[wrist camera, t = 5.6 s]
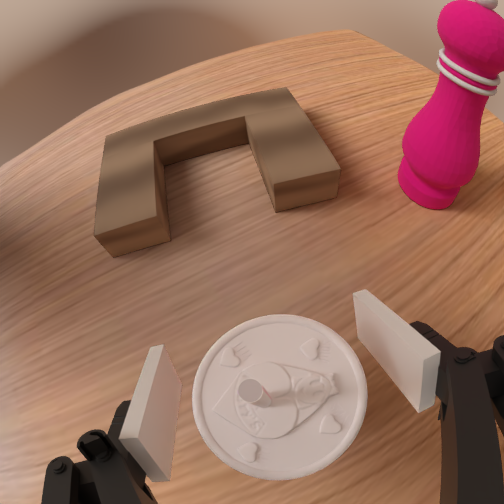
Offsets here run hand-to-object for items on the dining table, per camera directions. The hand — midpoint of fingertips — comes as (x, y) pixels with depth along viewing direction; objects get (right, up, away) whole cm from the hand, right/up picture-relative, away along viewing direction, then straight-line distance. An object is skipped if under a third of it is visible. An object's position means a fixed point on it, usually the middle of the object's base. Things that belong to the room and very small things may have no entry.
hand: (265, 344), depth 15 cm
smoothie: (+1, -5, +3) cm, 6 cm away
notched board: (-5, +12, +14) cm, 19 cm away
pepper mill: (+16, +11, +11) cm, 22 cm away
